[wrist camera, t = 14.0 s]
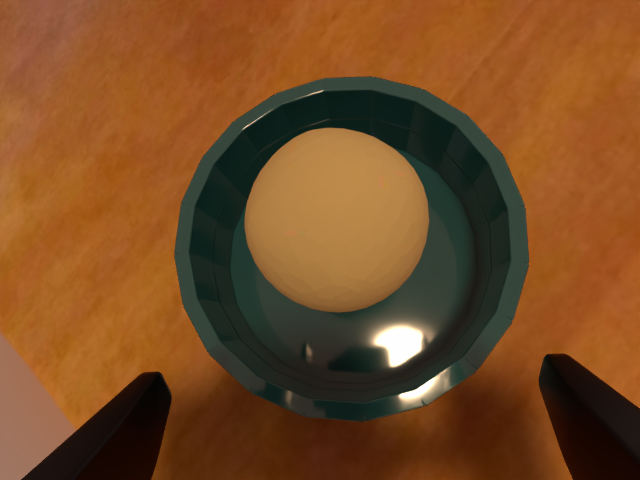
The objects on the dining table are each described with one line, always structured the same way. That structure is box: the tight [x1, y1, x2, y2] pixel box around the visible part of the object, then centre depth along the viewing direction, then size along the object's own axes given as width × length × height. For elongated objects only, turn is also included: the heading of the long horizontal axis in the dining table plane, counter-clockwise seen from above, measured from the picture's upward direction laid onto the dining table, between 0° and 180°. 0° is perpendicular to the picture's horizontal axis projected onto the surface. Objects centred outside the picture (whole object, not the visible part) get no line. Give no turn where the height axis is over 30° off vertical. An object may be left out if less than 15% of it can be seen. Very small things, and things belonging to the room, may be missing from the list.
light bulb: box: [245, 128, 429, 313], centre depth 16 cm, size 6×6×10 cm
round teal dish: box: [174, 76, 529, 422], centre depth 18 cm, size 14×14×6 cm
